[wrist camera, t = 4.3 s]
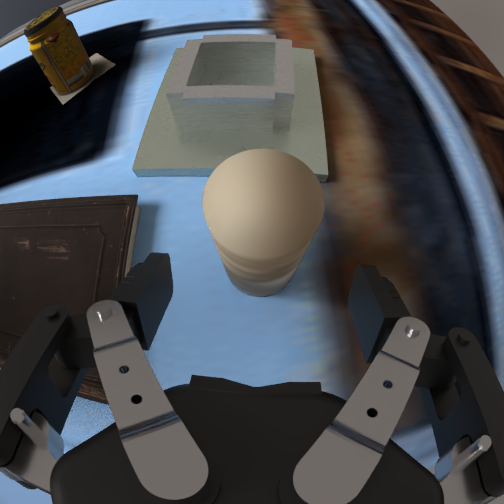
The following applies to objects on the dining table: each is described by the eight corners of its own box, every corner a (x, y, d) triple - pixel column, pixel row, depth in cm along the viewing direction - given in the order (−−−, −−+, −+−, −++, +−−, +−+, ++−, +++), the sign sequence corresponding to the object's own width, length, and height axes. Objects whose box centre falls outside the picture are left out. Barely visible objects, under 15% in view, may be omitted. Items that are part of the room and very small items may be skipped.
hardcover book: (-13, 214, 24) (-25, 207, 22) (146, 206, 23) (136, 194, 21) (-34, 347, 19) (-47, 345, 17) (128, 403, 19) (115, 409, 17)
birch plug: (222, 294, 21) (195, 253, 11) (228, 228, 22) (210, 147, 13) (293, 298, 21) (326, 260, 11) (295, 231, 22) (321, 152, 13)
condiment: (50, 88, 29) (14, 31, 18) (97, 53, 31) (71, -7, 19) (63, 105, 28) (21, 39, 16) (116, 66, 29) (88, -5, 18)
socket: (136, 176, 24) (114, 141, 19) (178, 55, 29) (170, 22, 24) (325, 182, 23) (340, 144, 18) (312, 57, 29) (317, 23, 24)
